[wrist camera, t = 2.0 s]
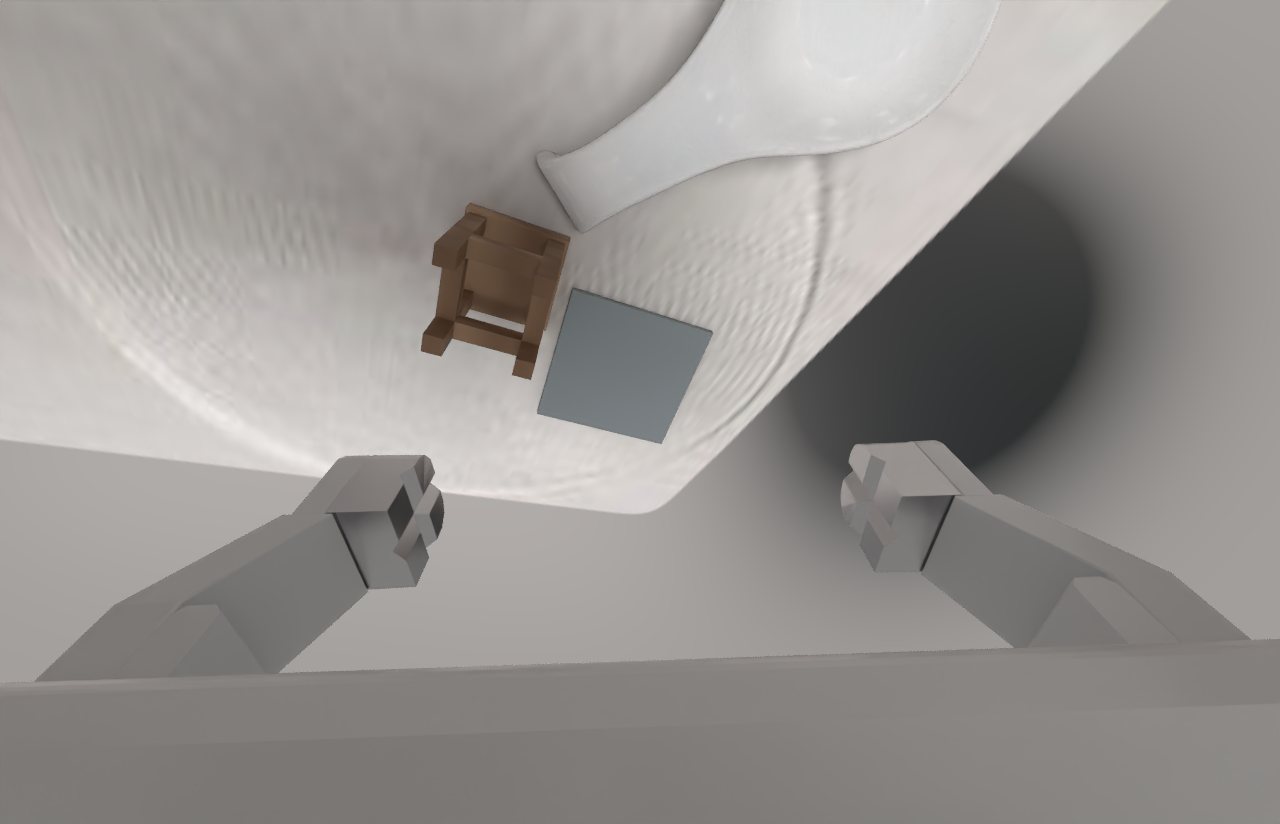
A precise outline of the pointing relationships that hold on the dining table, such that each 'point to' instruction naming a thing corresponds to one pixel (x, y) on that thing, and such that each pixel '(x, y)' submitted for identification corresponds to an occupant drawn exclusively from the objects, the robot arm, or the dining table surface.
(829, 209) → the dining table surface
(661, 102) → the spoon rest
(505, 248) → the stool
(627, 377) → the felt mat
